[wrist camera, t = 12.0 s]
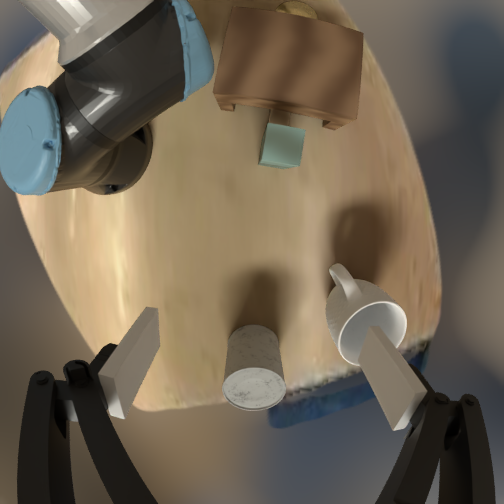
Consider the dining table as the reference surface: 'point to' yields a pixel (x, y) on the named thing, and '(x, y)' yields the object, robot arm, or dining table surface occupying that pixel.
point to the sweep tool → (281, 142)
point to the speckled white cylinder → (253, 369)
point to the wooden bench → (290, 66)
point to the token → (297, 9)
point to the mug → (360, 313)
